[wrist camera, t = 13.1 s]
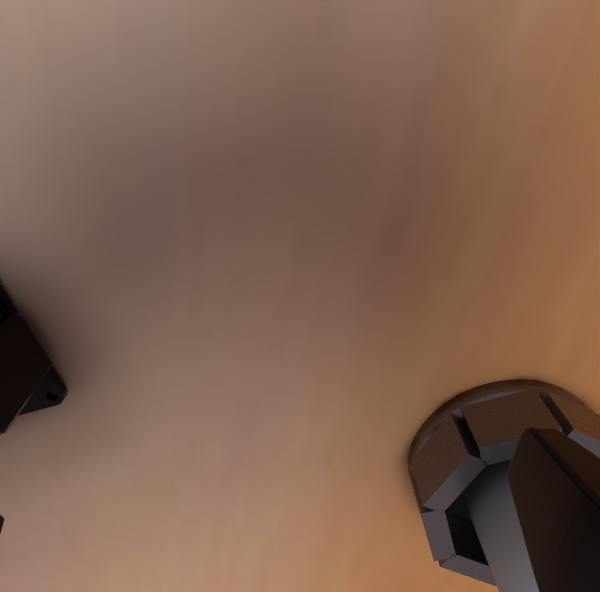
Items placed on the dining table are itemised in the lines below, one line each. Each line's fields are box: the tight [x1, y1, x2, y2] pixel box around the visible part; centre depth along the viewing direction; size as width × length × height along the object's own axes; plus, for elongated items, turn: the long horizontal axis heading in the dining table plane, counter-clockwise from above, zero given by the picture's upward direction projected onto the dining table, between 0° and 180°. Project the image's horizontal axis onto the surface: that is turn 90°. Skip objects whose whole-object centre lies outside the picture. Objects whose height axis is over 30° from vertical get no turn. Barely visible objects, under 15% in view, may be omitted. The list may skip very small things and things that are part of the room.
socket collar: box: [408, 380, 600, 586], centre depth 24 cm, size 9×9×4 cm
